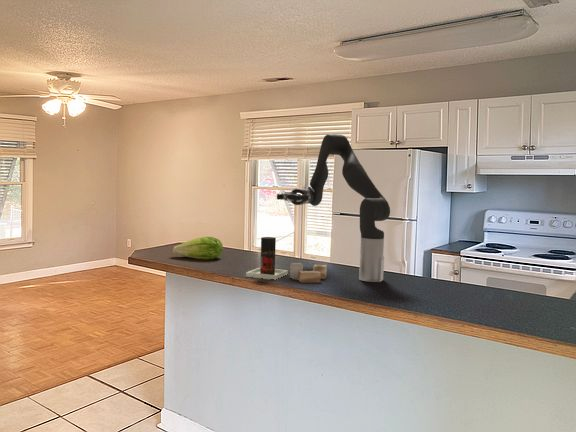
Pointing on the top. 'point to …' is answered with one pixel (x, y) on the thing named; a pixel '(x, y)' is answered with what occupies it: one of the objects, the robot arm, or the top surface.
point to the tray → (256, 274)
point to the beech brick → (309, 276)
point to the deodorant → (268, 255)
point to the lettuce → (200, 248)
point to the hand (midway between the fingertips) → (287, 197)
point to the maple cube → (321, 270)
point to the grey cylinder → (295, 269)
